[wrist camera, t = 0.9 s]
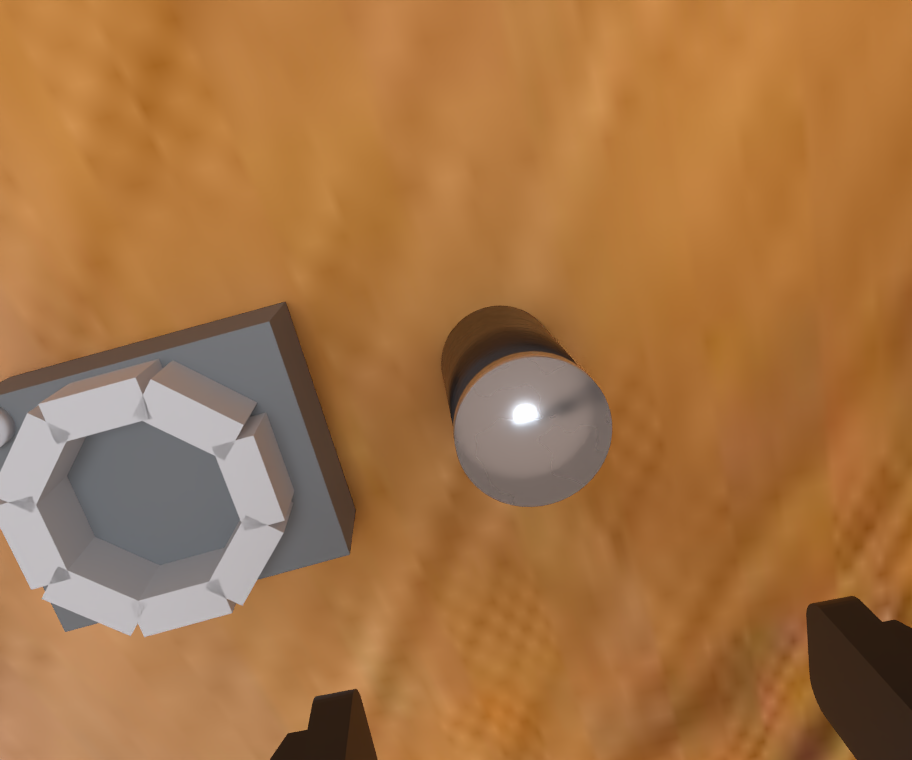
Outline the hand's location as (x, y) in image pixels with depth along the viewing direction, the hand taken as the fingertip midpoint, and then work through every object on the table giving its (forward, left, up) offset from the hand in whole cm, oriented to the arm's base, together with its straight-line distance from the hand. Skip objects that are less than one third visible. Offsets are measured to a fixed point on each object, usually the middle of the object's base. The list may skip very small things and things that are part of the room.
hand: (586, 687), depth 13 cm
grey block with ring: (+13, 0, -20) cm, 24 cm away
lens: (-1, 0, -20) cm, 20 cm away
